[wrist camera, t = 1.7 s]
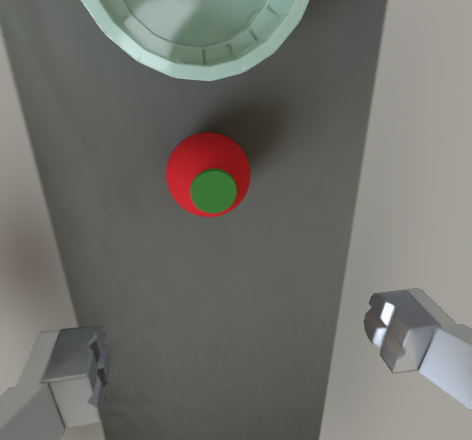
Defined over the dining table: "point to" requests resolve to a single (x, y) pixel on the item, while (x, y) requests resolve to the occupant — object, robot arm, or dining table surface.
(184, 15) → the bowl
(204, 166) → the tomato
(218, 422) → the dining table surface
